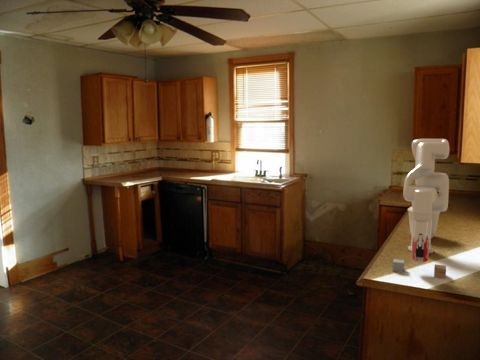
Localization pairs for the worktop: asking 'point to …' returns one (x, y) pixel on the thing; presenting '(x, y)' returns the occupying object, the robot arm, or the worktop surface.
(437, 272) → the walnut block
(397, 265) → the slate grey block
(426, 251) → the soda can
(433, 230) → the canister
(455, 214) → the worktop surface
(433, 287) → the worktop surface
